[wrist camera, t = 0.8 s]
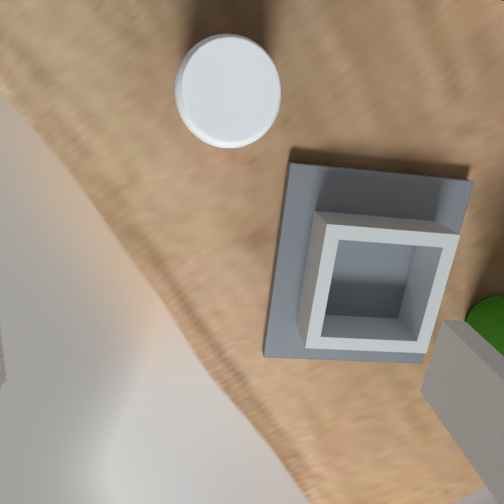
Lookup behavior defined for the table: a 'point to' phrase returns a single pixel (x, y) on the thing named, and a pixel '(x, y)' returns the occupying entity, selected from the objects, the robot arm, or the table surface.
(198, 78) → the pill bottle
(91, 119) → the table surface
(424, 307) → the socket
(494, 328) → the cup
